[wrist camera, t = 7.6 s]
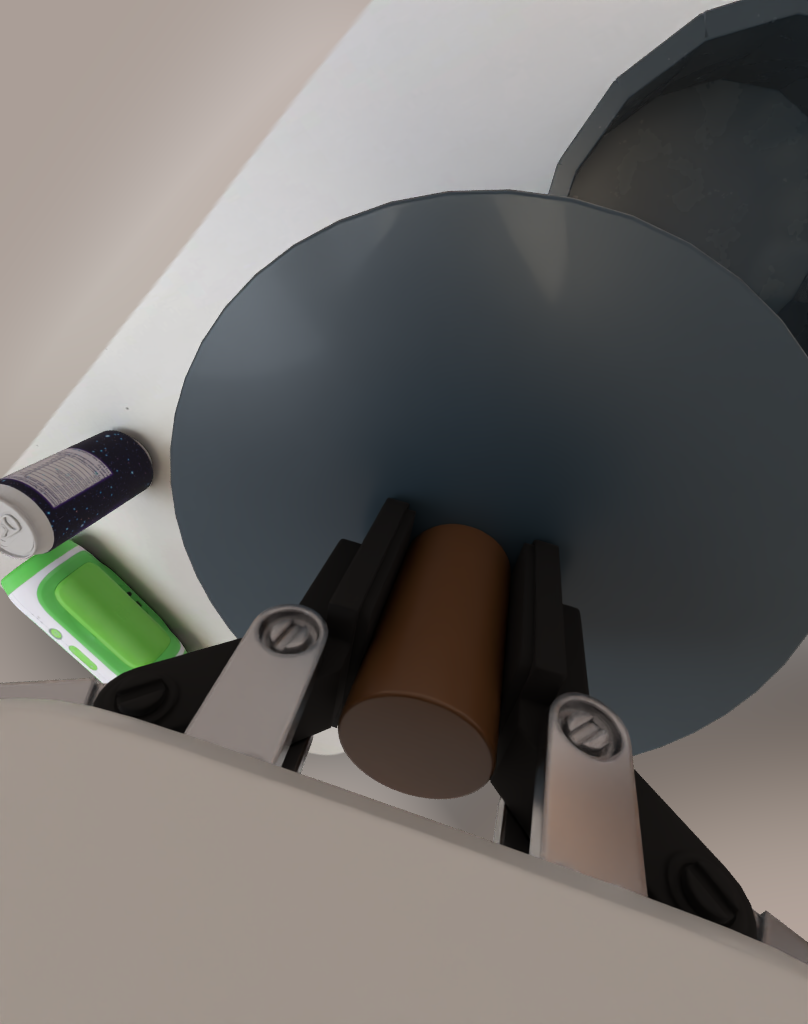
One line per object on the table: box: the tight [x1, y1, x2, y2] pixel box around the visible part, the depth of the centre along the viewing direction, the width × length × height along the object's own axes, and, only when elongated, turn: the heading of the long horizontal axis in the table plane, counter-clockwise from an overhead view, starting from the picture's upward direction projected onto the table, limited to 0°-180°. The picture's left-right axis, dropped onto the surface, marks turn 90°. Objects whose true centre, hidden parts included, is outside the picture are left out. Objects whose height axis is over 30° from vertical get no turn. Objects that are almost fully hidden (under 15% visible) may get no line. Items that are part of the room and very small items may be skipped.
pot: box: [548, 0, 808, 357], centre depth 23 cm, size 15×20×8 cm
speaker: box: [1, 540, 187, 683], centre depth 49 cm, size 18×7×8 cm, turn 37°
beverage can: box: [0, 431, 153, 559], centre depth 37 cm, size 6×6×12 cm
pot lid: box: [170, 190, 808, 799], centre depth 10 cm, size 16×16×6 cm
